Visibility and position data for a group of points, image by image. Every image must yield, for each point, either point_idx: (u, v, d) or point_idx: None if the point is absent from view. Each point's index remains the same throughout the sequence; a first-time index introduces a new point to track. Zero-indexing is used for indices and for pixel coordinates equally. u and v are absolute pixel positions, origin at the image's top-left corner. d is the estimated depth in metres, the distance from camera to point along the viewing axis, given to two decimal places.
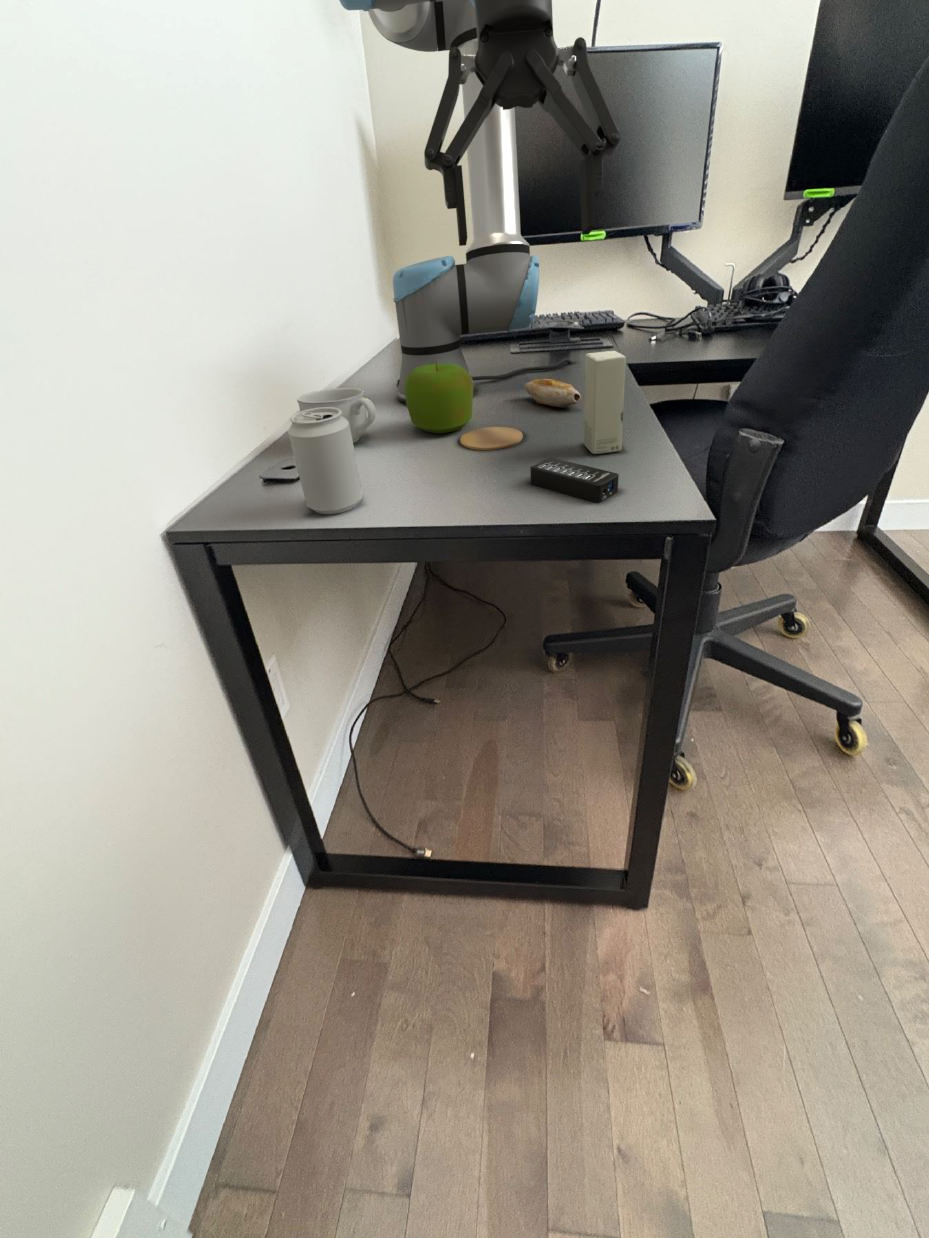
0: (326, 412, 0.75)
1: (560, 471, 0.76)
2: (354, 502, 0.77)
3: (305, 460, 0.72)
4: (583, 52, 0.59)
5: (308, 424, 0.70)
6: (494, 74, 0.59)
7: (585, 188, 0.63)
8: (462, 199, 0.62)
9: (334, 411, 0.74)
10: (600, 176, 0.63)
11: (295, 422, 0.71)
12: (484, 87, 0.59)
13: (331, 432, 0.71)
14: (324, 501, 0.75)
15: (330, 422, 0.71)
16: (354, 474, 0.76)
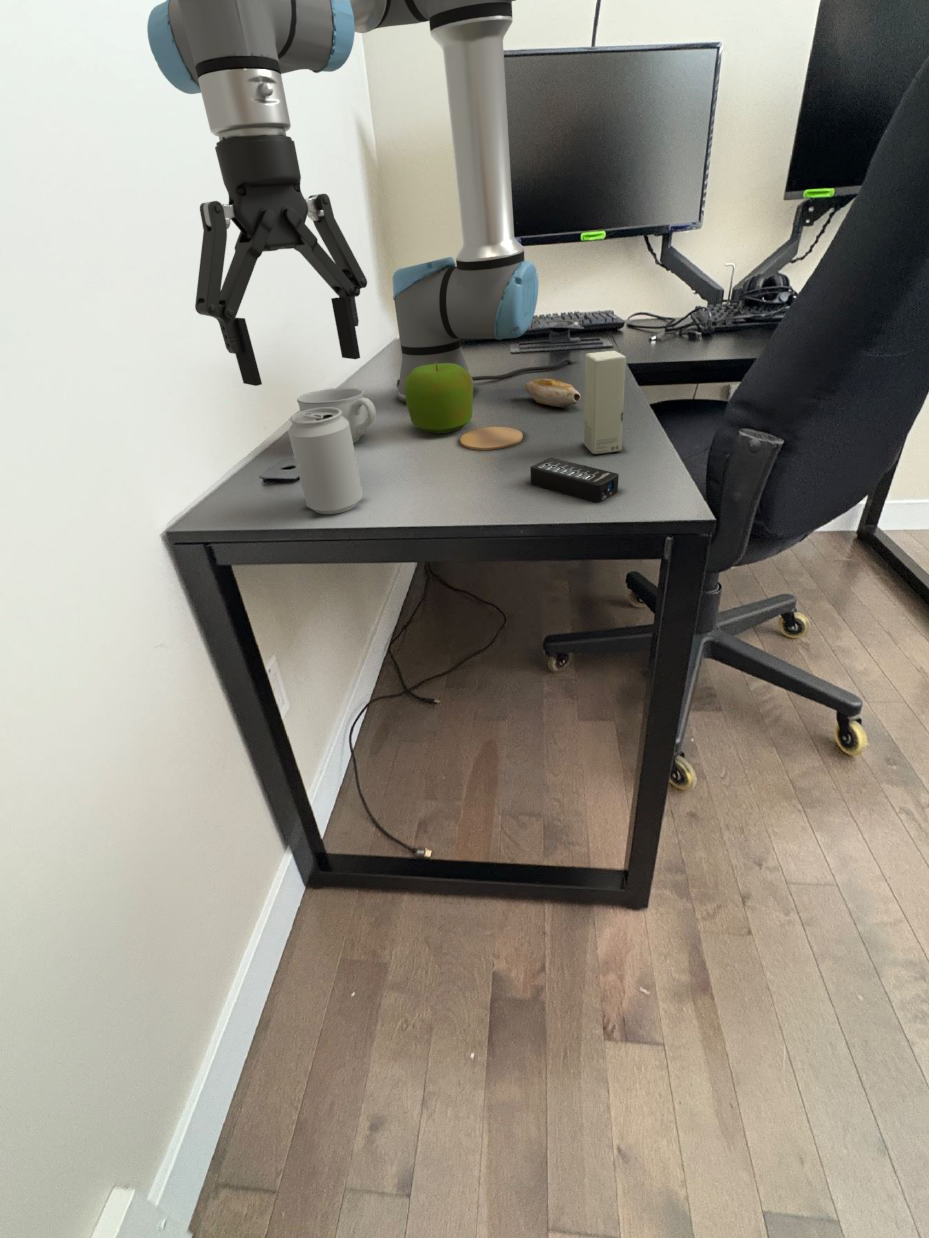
0: (326, 412, 0.75)
1: (560, 471, 0.76)
2: (354, 502, 0.77)
3: (305, 460, 0.72)
4: (328, 207, 0.64)
5: (308, 424, 0.70)
6: (261, 231, 0.59)
7: (346, 325, 0.71)
8: (251, 350, 0.63)
9: (334, 411, 0.74)
10: (355, 313, 0.71)
11: (295, 422, 0.71)
12: (254, 243, 0.59)
13: (331, 432, 0.71)
14: (324, 501, 0.75)
15: (330, 422, 0.71)
16: (354, 474, 0.76)
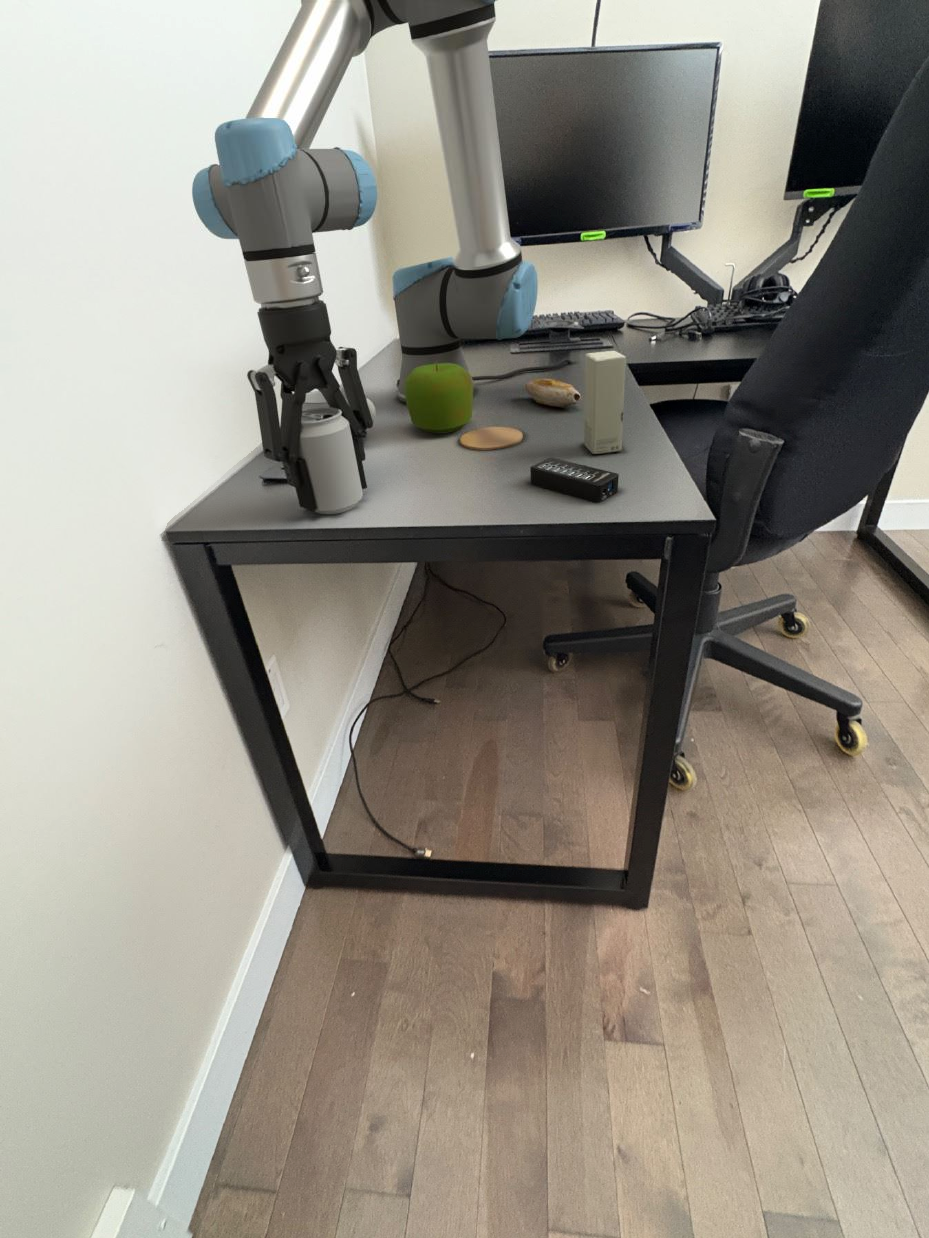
0: (326, 412, 0.75)
1: (560, 471, 0.76)
2: (354, 502, 0.77)
3: (305, 460, 0.72)
4: (354, 359, 0.73)
5: (308, 424, 0.70)
6: (300, 382, 0.68)
7: None
8: (309, 483, 0.74)
9: (334, 411, 0.74)
10: (362, 450, 0.79)
11: None
12: (297, 396, 0.68)
13: (331, 432, 0.71)
14: (324, 501, 0.75)
15: (330, 422, 0.71)
16: (354, 474, 0.76)
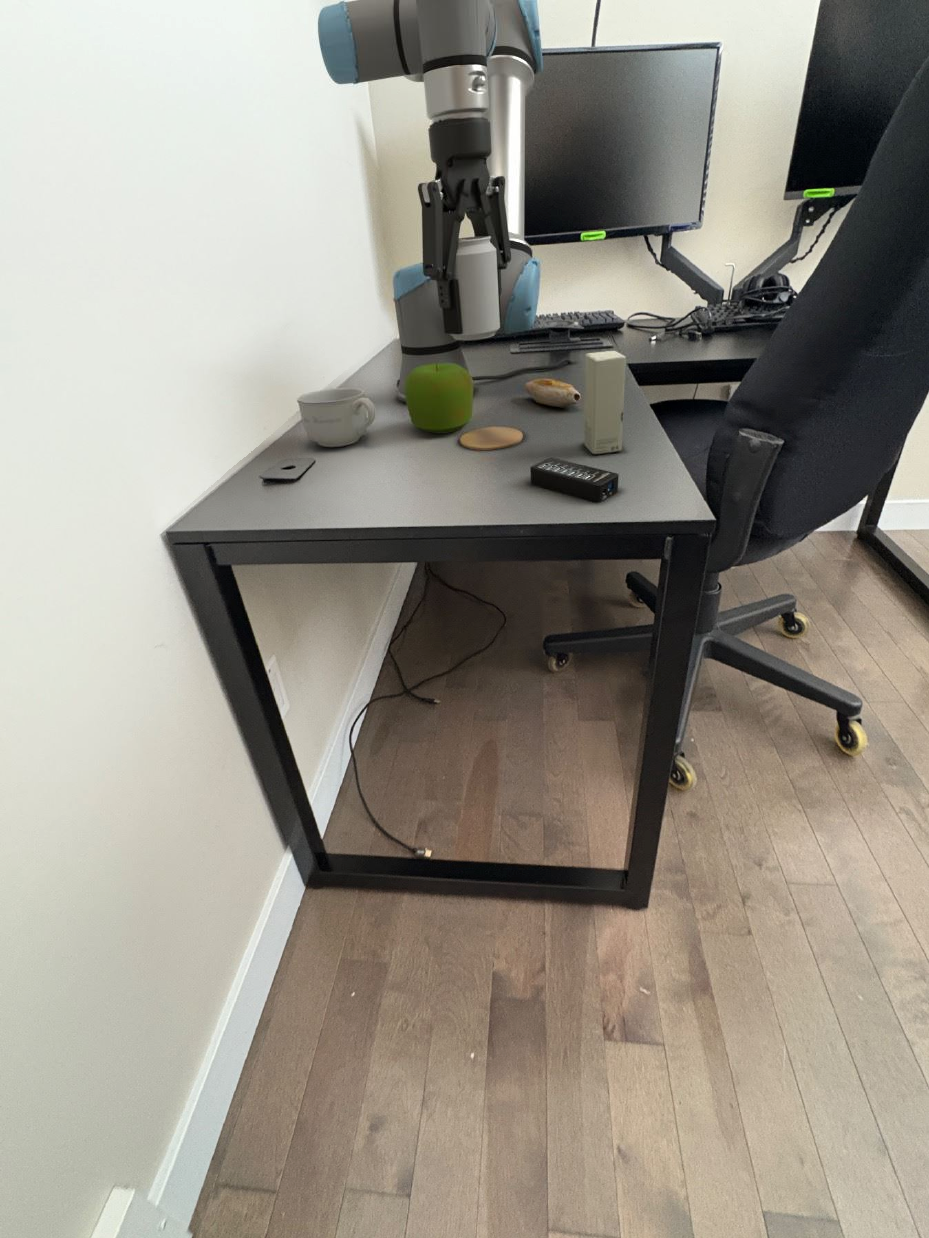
0: None
1: (560, 471, 0.76)
2: (495, 329, 0.83)
3: None
4: (503, 188, 0.79)
5: (464, 242, 0.77)
6: (462, 199, 0.74)
7: None
8: (458, 305, 0.80)
9: None
10: (499, 284, 0.85)
11: None
12: (459, 212, 0.75)
13: (485, 251, 0.77)
14: (470, 324, 0.81)
15: (483, 242, 0.77)
16: (497, 300, 0.82)
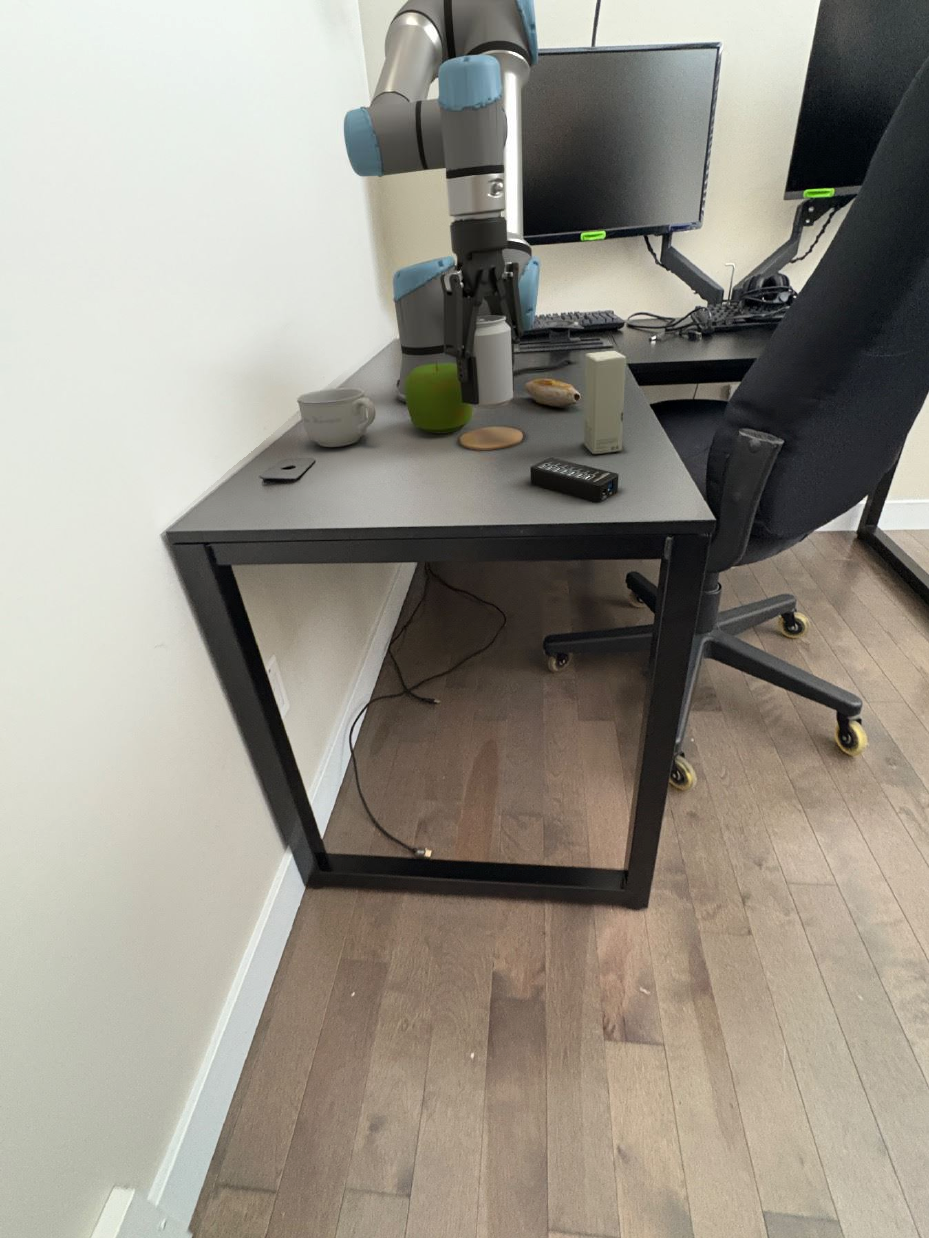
0: (488, 319, 0.88)
1: (560, 471, 0.76)
2: (509, 398, 0.90)
3: None
4: (516, 272, 0.86)
5: (482, 324, 0.83)
6: (480, 287, 0.81)
7: None
8: (476, 379, 0.87)
9: (496, 318, 0.87)
10: (513, 356, 0.92)
11: None
12: (477, 298, 0.81)
13: (500, 332, 0.84)
14: (486, 395, 0.88)
15: (499, 323, 0.84)
16: (511, 373, 0.89)
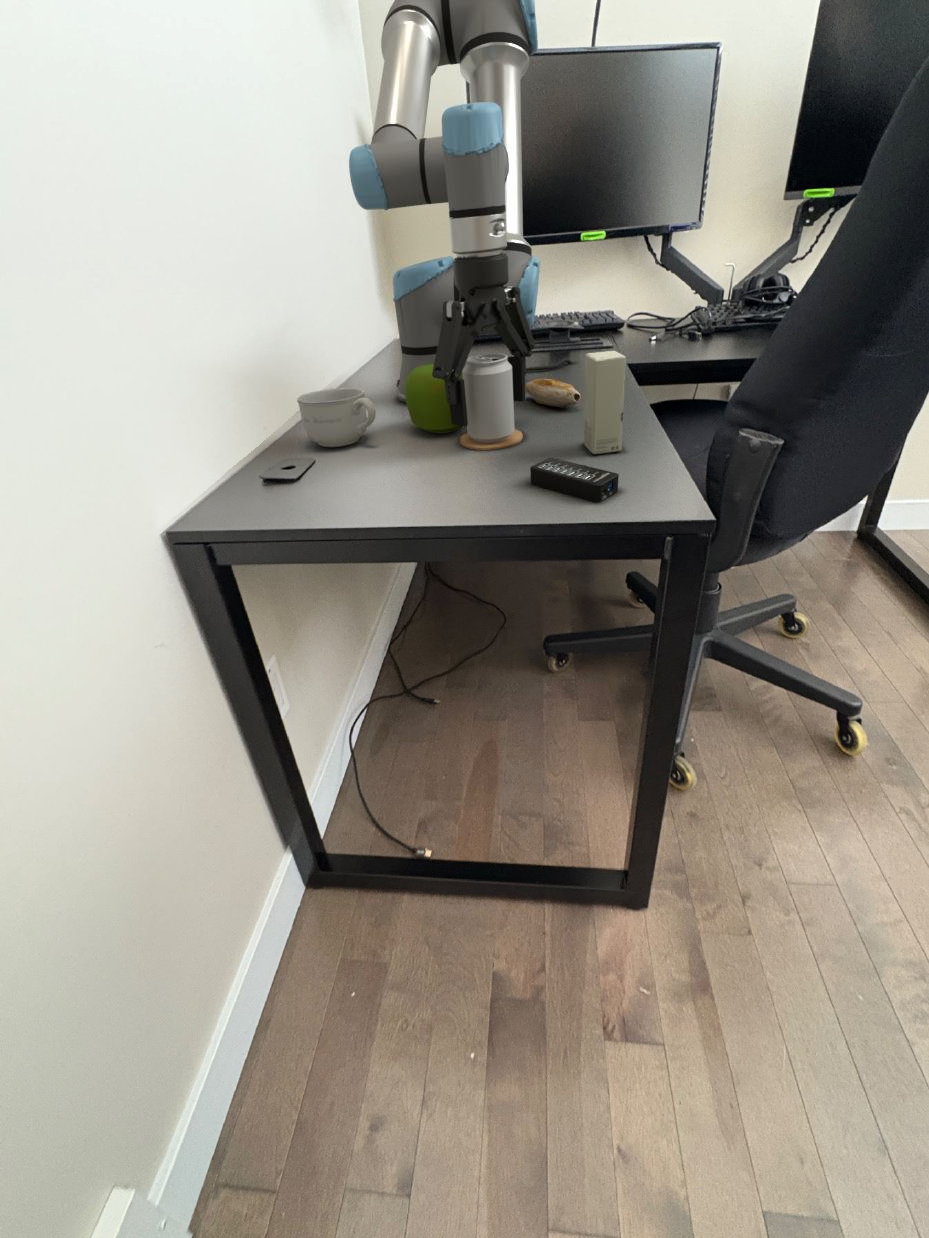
0: (490, 357, 0.91)
1: (560, 471, 0.76)
2: (510, 433, 0.93)
3: (477, 395, 0.88)
4: (518, 295, 0.88)
5: (484, 364, 0.86)
6: (480, 318, 0.83)
7: (519, 377, 0.94)
8: (465, 401, 0.87)
9: (498, 356, 0.90)
10: (524, 368, 0.95)
11: (473, 363, 0.87)
12: (476, 328, 0.83)
13: (502, 371, 0.87)
14: (488, 430, 0.91)
15: (501, 363, 0.87)
16: (512, 409, 0.92)
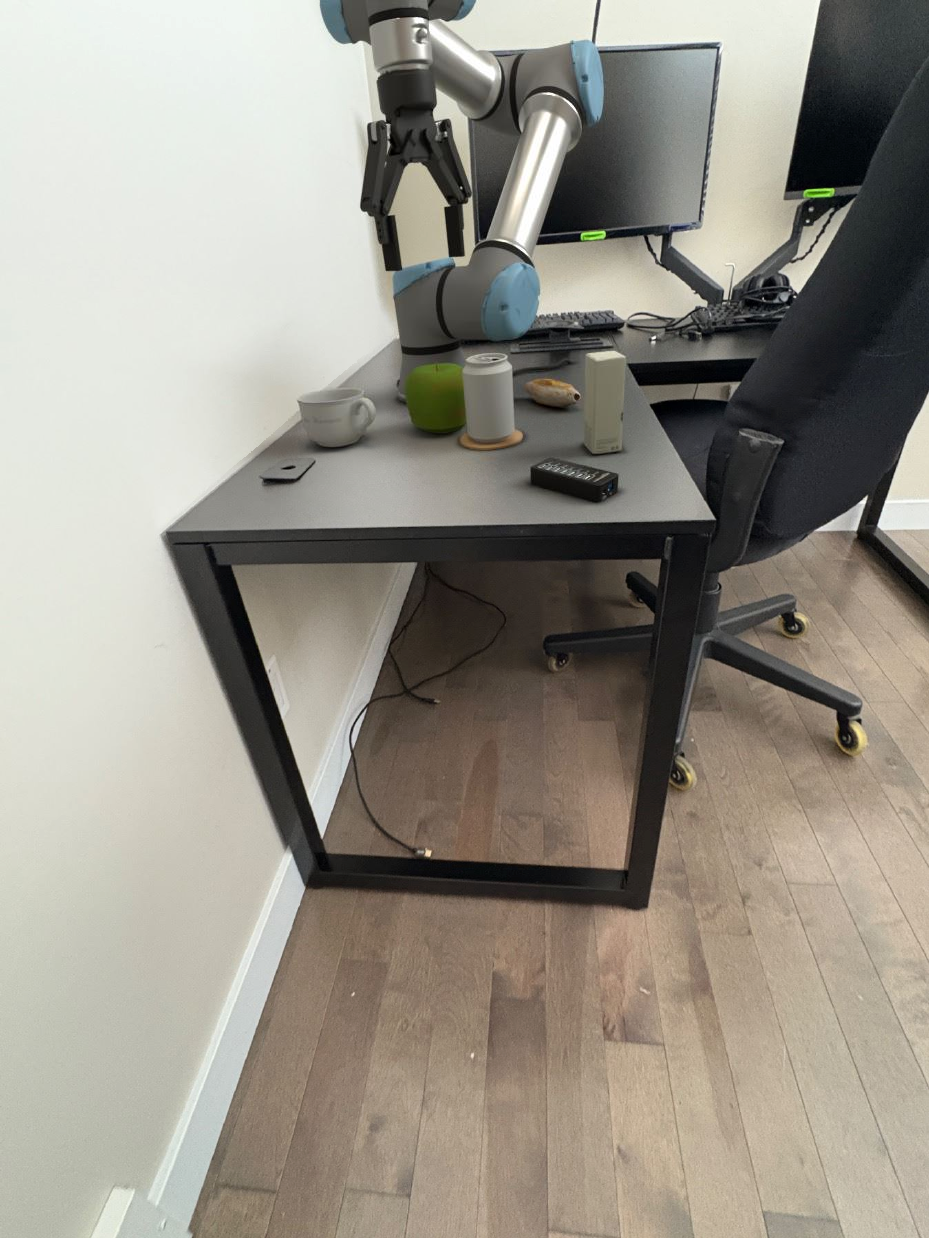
0: (490, 357, 0.91)
1: (560, 471, 0.76)
2: (510, 433, 0.93)
3: (477, 395, 0.88)
4: (450, 130, 0.83)
5: (484, 364, 0.86)
6: (409, 145, 0.78)
7: (456, 228, 0.90)
8: (397, 241, 0.82)
9: (498, 356, 0.90)
10: (462, 219, 0.90)
11: (473, 363, 0.87)
12: (404, 155, 0.78)
13: (502, 371, 0.87)
14: (488, 430, 0.91)
15: (501, 363, 0.87)
16: (512, 409, 0.92)
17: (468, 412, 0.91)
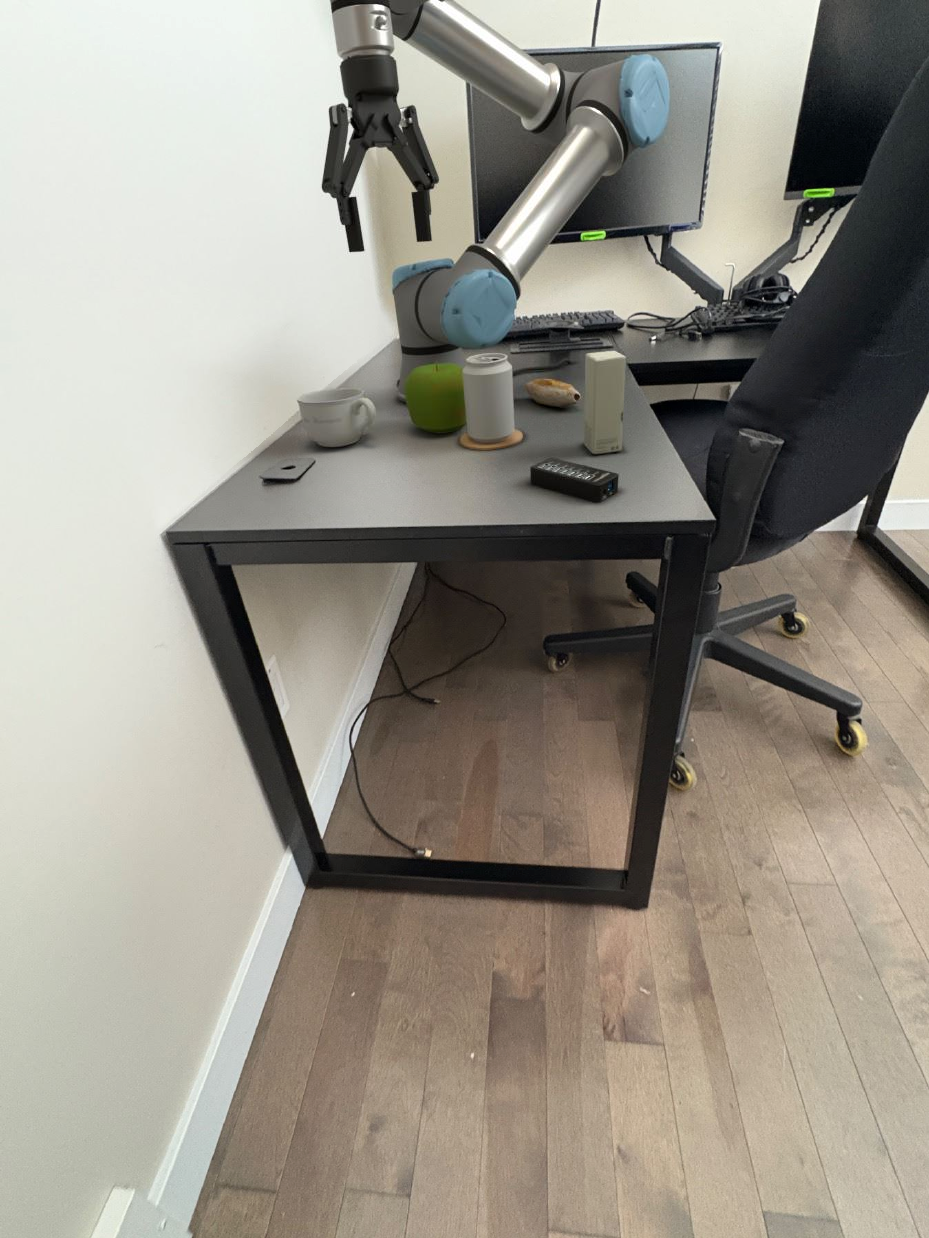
0: (490, 357, 0.91)
1: (560, 471, 0.76)
2: (510, 433, 0.93)
3: (477, 395, 0.88)
4: (415, 116, 0.85)
5: (484, 364, 0.86)
6: (370, 129, 0.81)
7: (423, 213, 0.92)
8: (359, 222, 0.85)
9: (498, 356, 0.90)
10: (429, 204, 0.93)
11: (473, 363, 0.87)
12: (365, 138, 0.81)
13: (502, 371, 0.87)
14: (488, 430, 0.91)
15: (501, 363, 0.87)
16: (512, 409, 0.92)
17: (468, 412, 0.91)
